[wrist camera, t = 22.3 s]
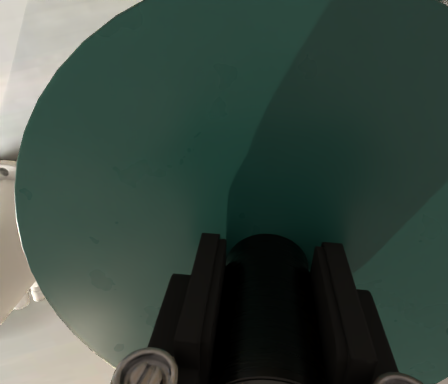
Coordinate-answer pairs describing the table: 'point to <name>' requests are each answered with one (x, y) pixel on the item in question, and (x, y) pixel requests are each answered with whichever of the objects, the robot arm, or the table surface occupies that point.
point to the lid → (246, 175)
